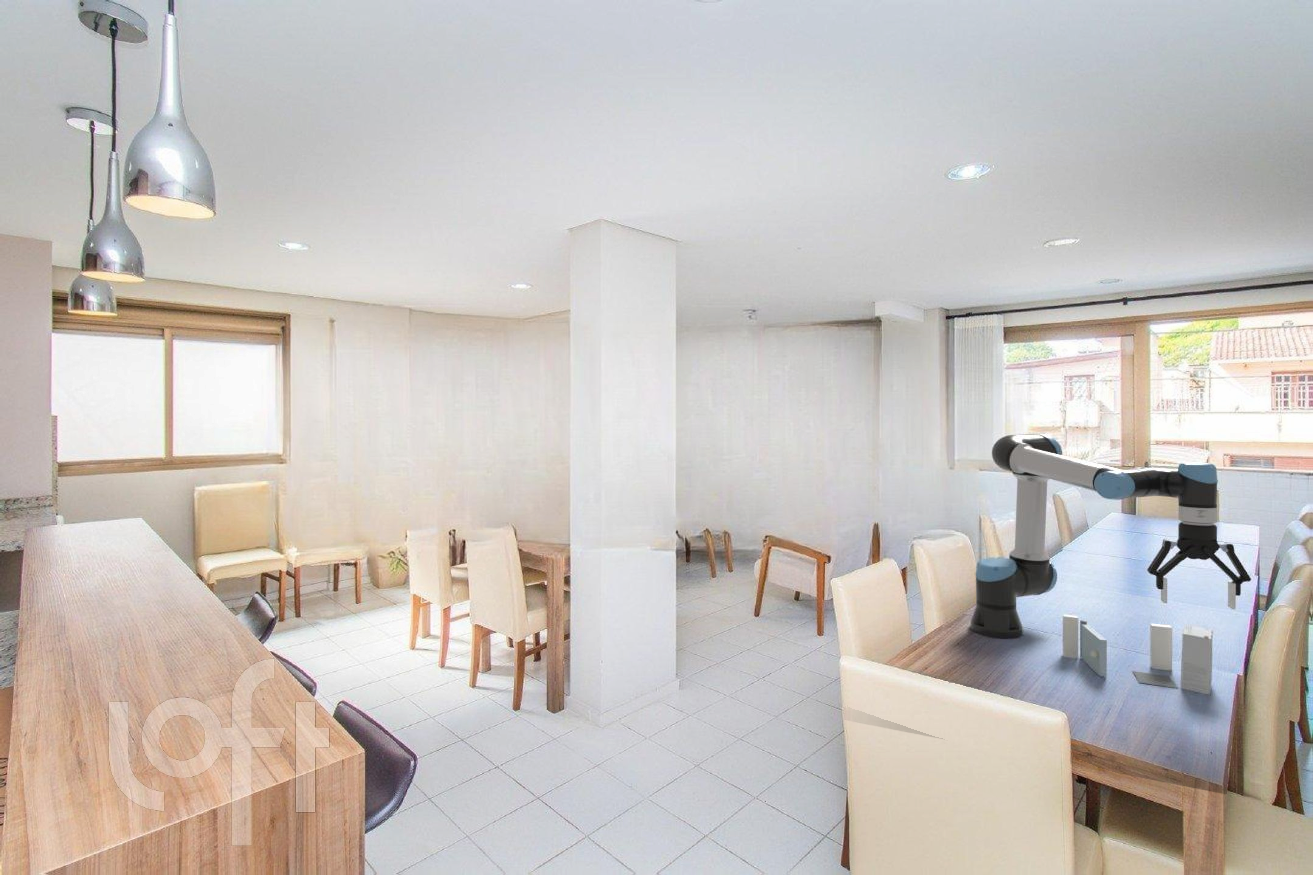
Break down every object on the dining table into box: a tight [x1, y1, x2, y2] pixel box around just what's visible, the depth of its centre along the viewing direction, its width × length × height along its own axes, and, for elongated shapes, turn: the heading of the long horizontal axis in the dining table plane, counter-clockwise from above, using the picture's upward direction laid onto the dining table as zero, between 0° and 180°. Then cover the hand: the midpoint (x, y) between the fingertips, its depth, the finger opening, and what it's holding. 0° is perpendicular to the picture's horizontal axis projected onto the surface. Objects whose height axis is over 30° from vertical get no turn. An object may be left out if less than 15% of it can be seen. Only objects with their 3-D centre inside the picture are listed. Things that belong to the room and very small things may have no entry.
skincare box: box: [1180, 624, 1214, 696], centre depth 162 cm, size 8×6×15 cm
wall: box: [1062, 614, 1173, 672], centre depth 179 cm, size 25×2×12 cm, turn 63°
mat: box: [1132, 670, 1179, 689], centre depth 167 cm, size 8×8×1 cm
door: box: [1079, 620, 1108, 678], centre depth 176 cm, size 15×3×11 cm, turn 164°
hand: (1197, 604), depth 161 cm, fingers open, 13 cm apart
